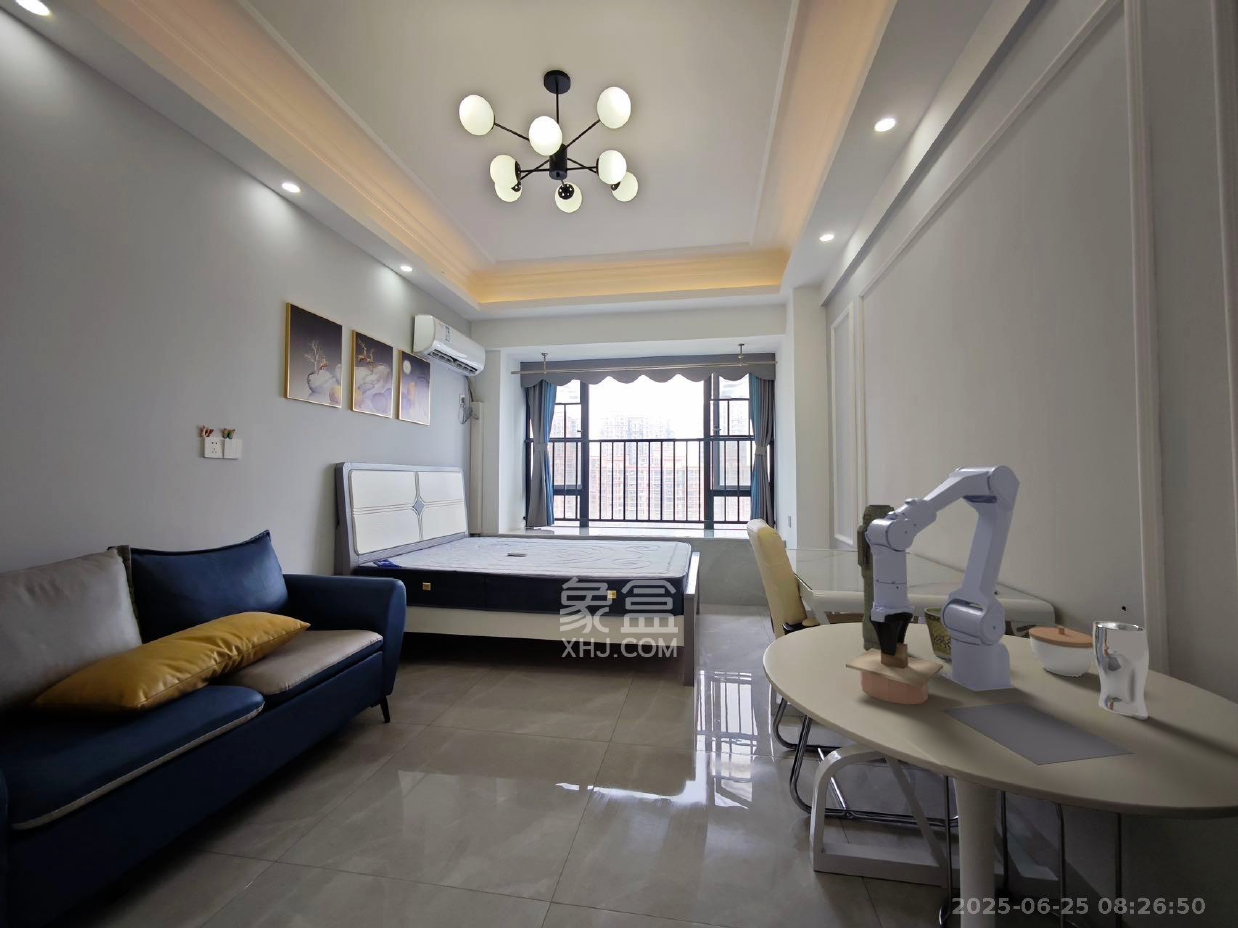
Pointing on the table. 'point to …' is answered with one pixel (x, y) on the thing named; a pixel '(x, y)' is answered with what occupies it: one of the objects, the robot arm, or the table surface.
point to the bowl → (893, 689)
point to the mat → (1035, 733)
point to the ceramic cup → (938, 633)
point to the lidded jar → (1062, 650)
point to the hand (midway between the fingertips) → (892, 651)
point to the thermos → (869, 571)
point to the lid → (896, 666)
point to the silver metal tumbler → (1121, 666)
